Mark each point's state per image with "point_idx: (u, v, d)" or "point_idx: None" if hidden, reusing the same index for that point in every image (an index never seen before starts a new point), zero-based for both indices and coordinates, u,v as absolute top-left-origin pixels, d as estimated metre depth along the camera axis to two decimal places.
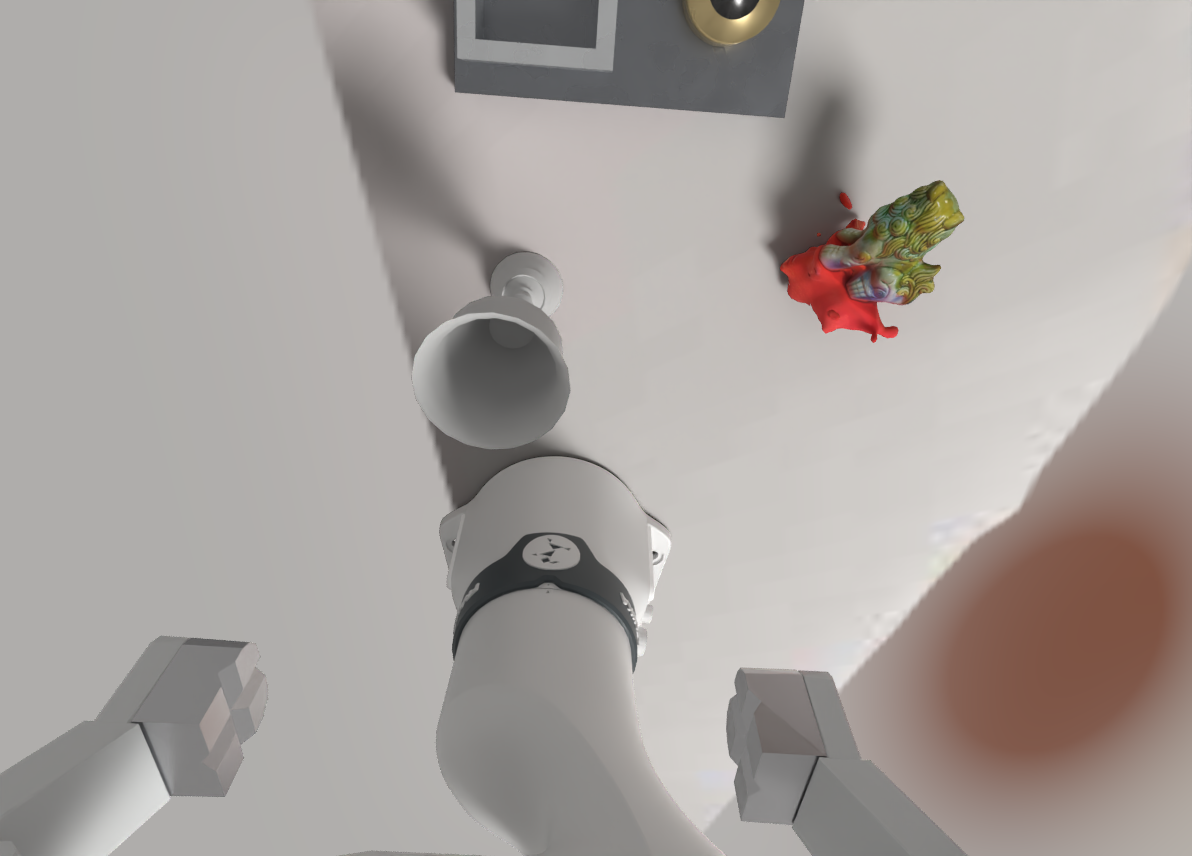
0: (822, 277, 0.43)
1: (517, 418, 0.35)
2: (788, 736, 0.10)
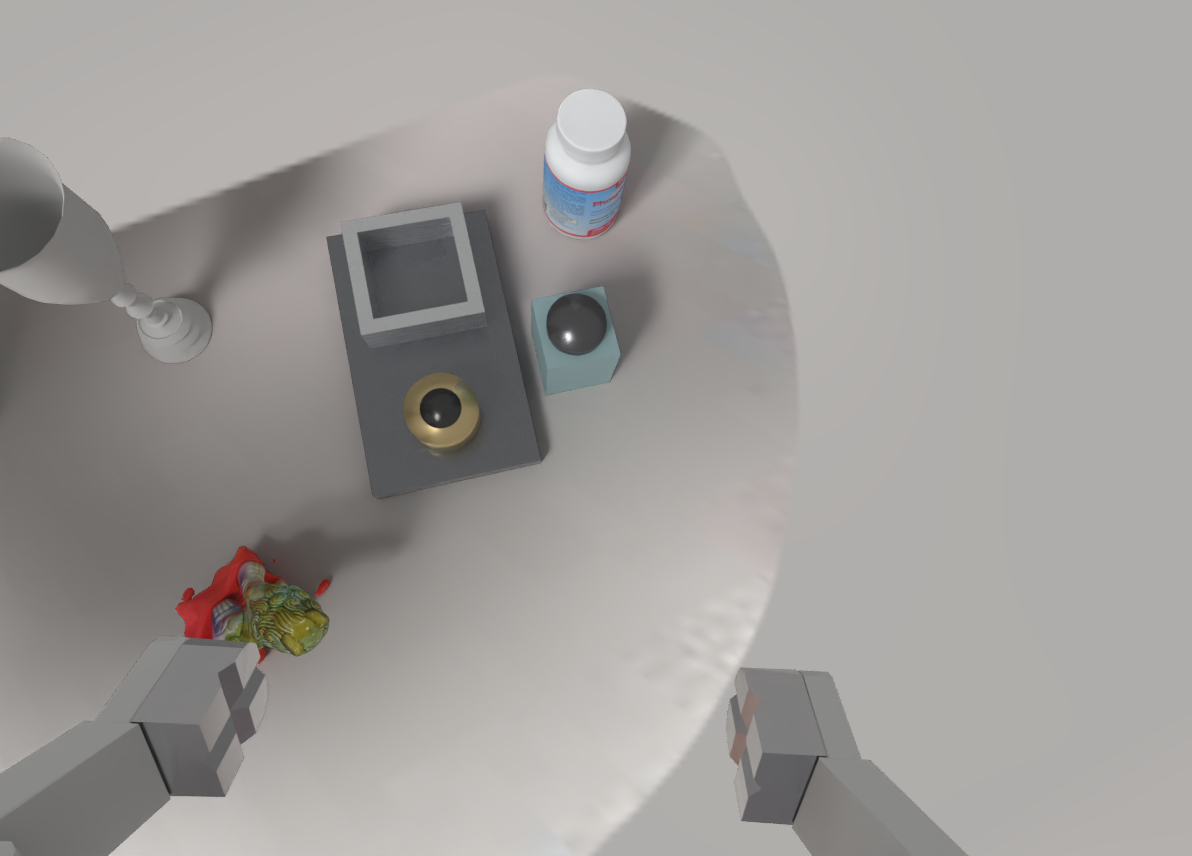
0: (229, 574, 0.44)
1: None
2: (788, 736, 0.10)
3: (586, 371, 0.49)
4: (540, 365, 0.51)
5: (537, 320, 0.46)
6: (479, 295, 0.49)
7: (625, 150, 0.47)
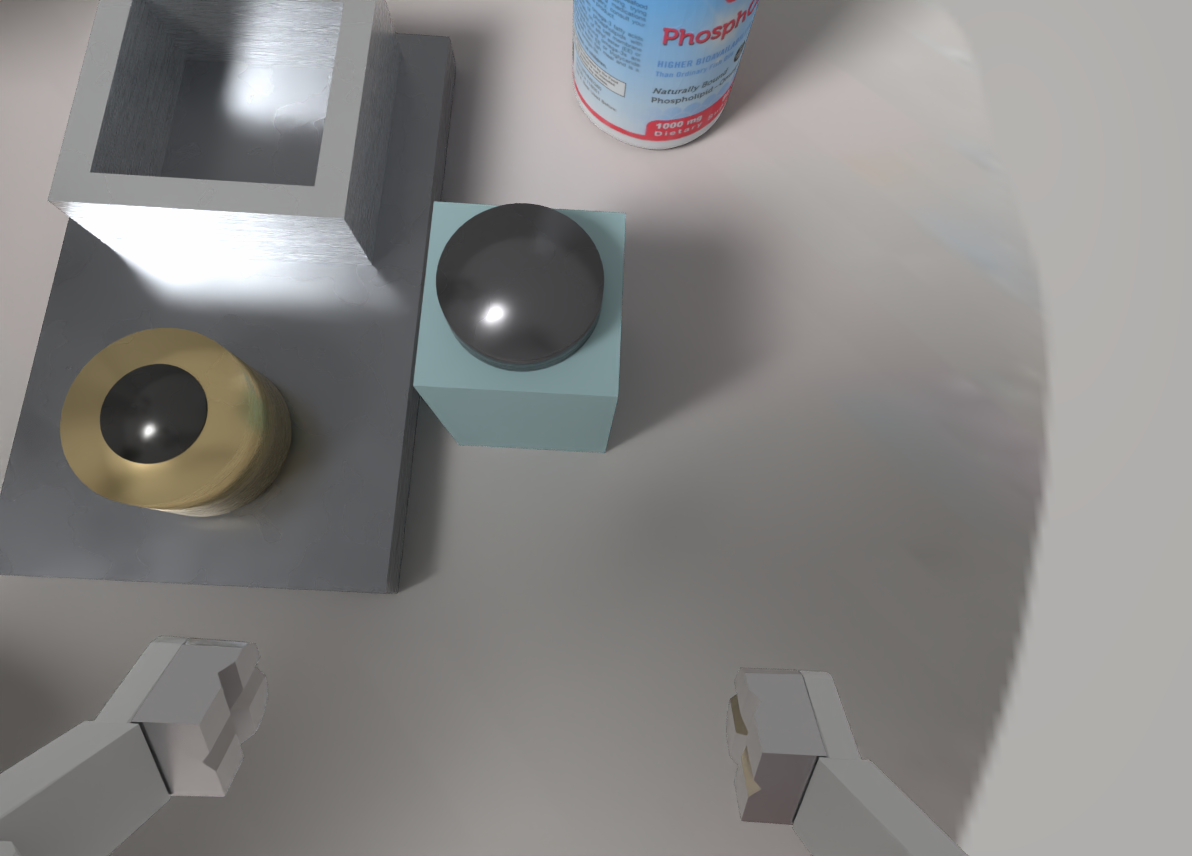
0: None
1: None
2: (788, 736, 0.10)
3: (534, 417, 0.19)
4: None
5: (431, 255, 0.18)
6: (345, 180, 0.21)
7: None
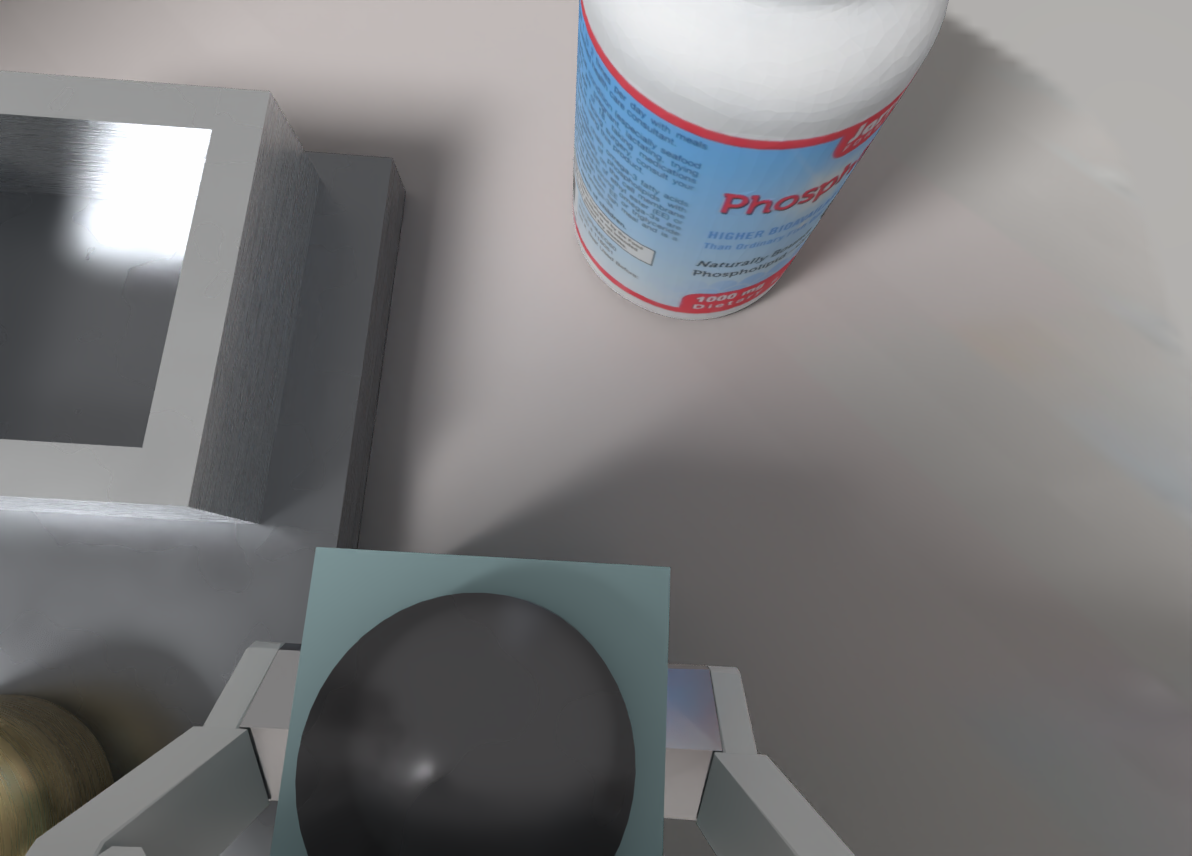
0: None
1: None
2: (686, 731, 0.10)
3: None
4: None
5: (305, 661, 0.09)
6: (195, 435, 0.12)
7: None
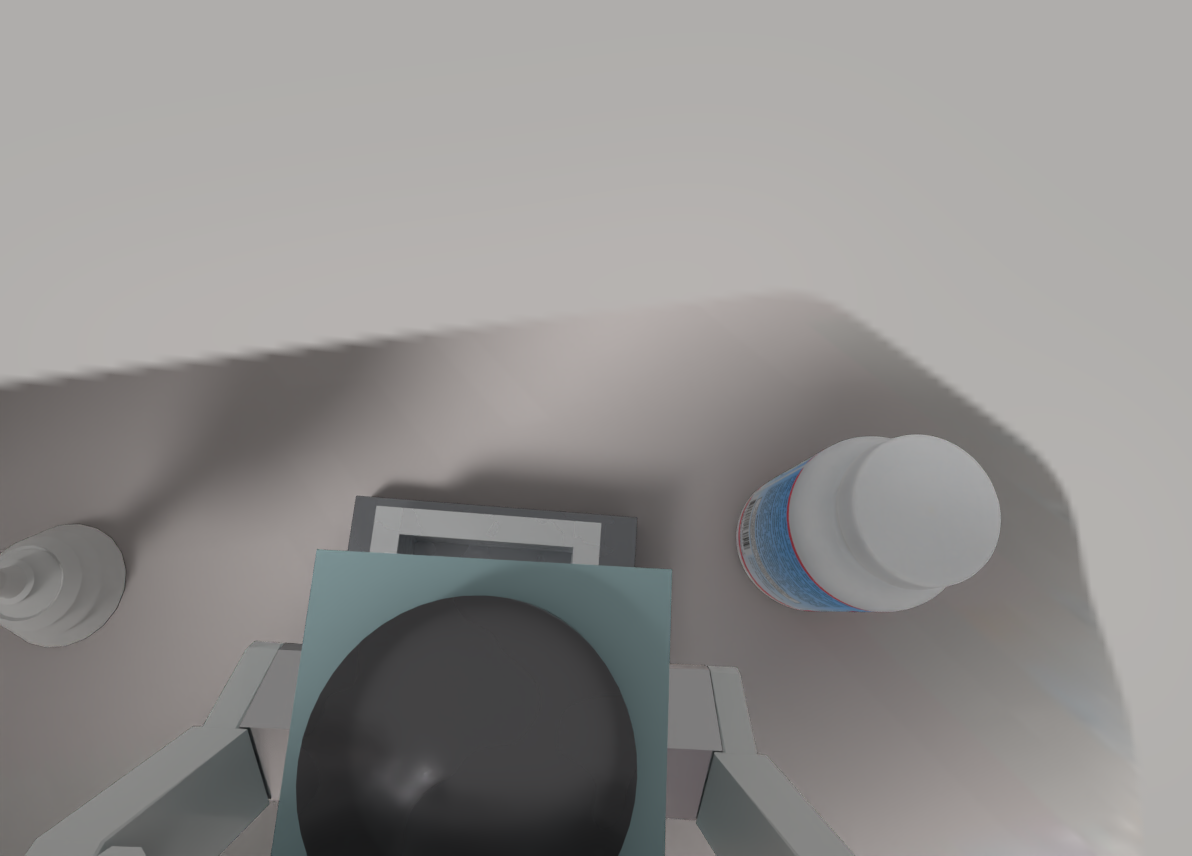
0: None
1: None
2: (686, 731, 0.10)
3: None
4: None
5: (305, 663, 0.09)
6: None
7: None
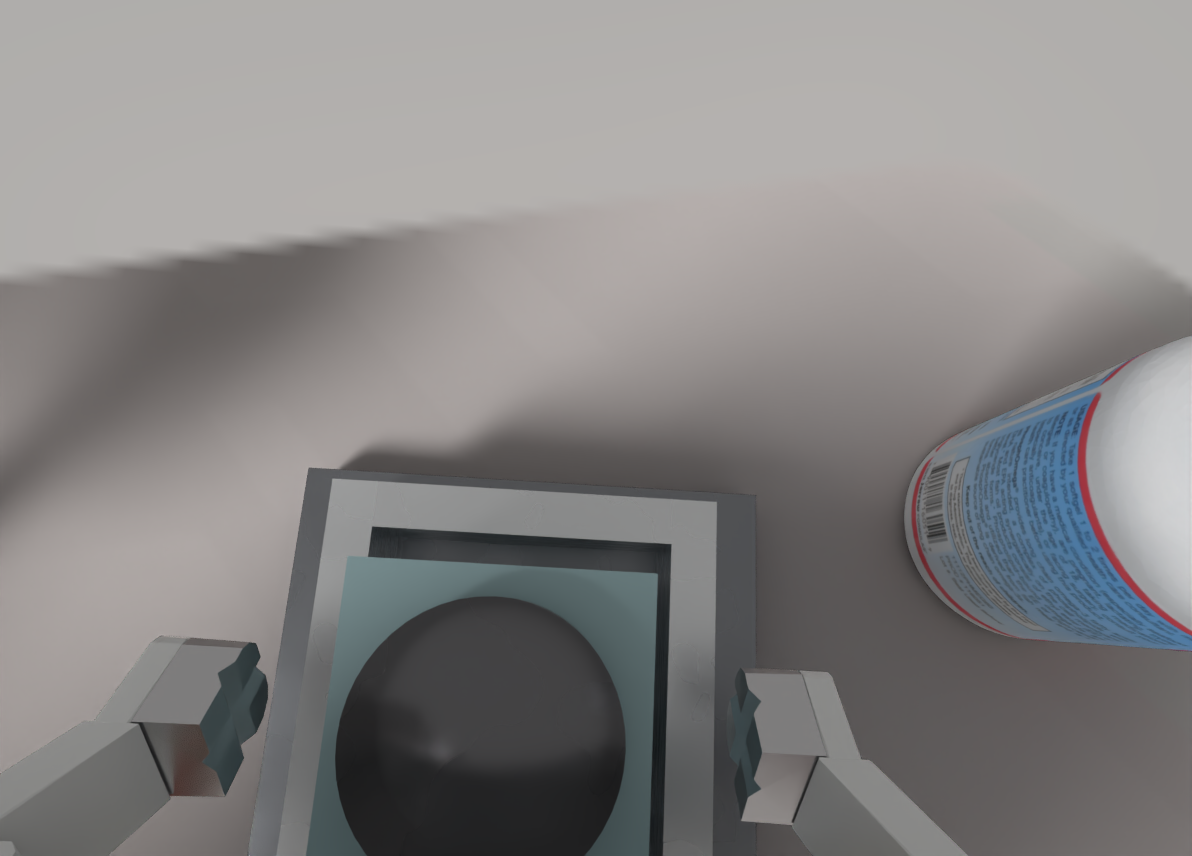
0: None
1: None
2: (788, 736, 0.10)
3: None
4: None
5: (339, 655, 0.11)
6: None
7: None
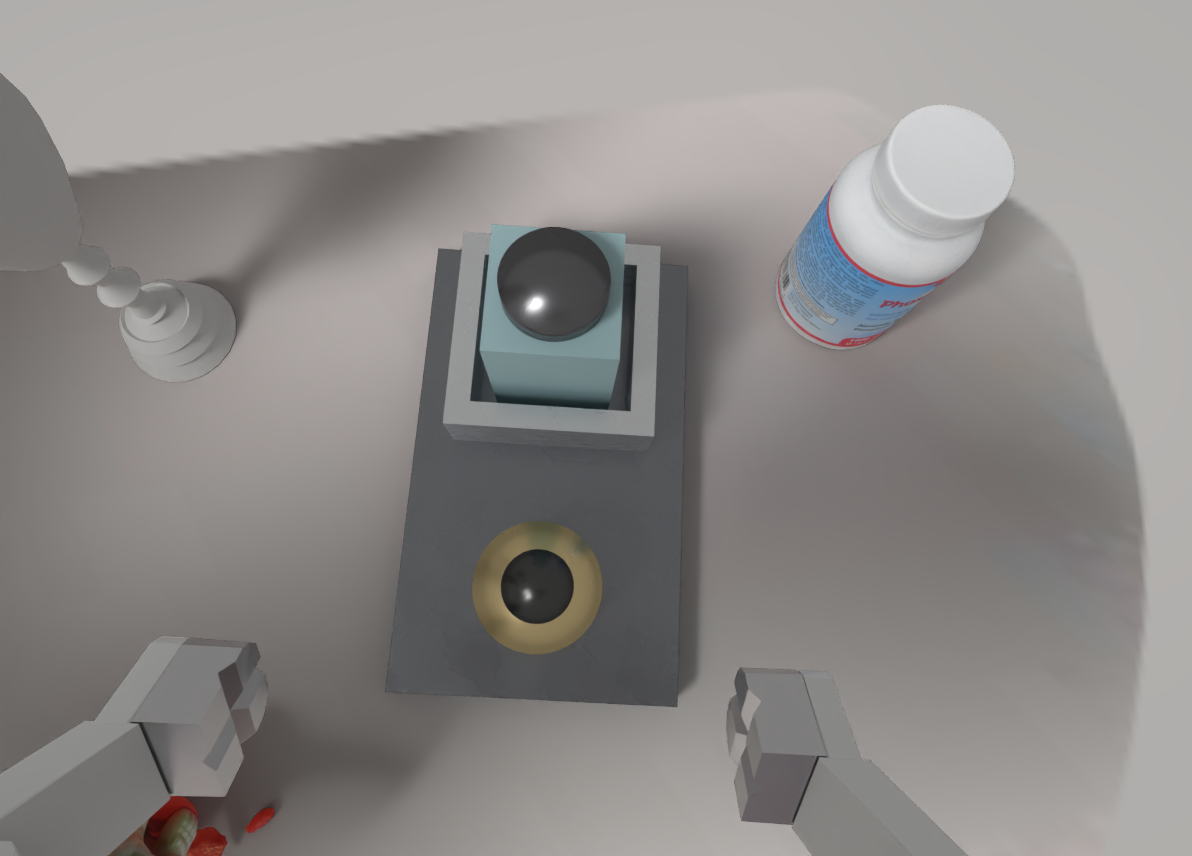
0: None
1: None
2: (788, 736, 0.10)
3: (559, 377, 0.27)
4: None
5: (490, 261, 0.25)
6: (652, 406, 0.29)
7: (978, 228, 0.26)
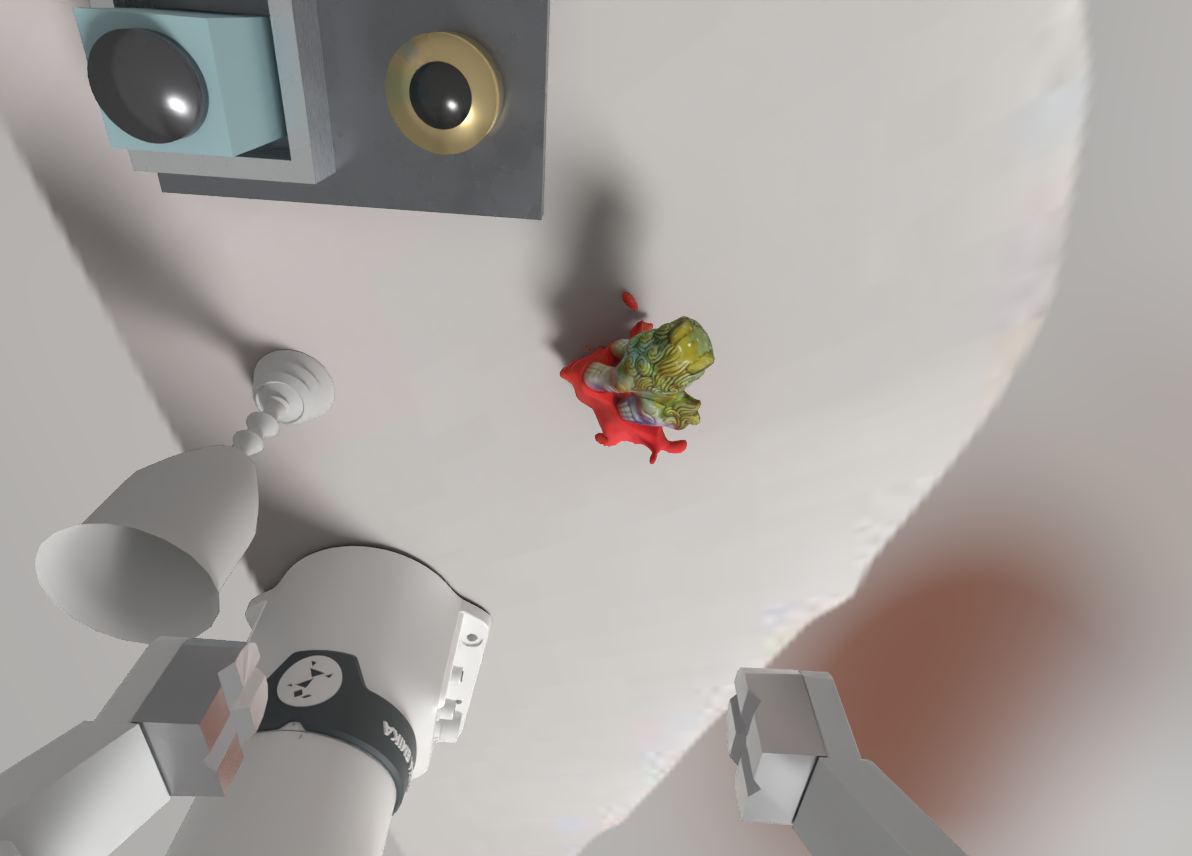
0: (591, 396, 0.39)
1: (193, 599, 0.32)
2: (788, 736, 0.10)
3: (246, 76, 0.30)
4: None
5: (148, 148, 0.29)
6: None
7: None
